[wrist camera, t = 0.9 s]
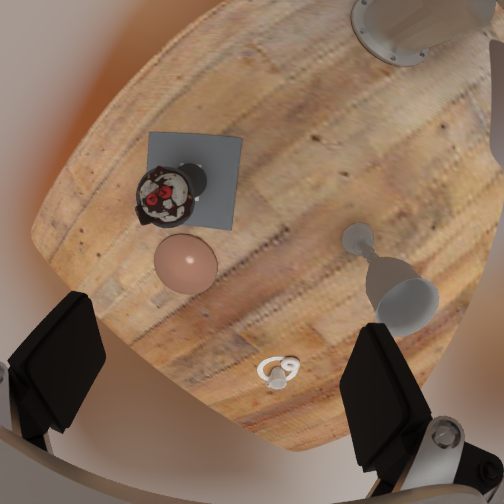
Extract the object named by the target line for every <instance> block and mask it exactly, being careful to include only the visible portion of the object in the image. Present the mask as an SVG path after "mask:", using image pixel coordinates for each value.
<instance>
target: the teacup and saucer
mask: <svg viewBox="0 0 504 504" xmlns="http://www.w3.org/2000/svg"><path fill="white" fill-rule="evenodd" d="M274 360H282V361H281V367H282V368H281V367H275V368H273V370H272V372H271V375H270V376H269V377H267V376H266V375H265V374H264V373H263V367H264V366H265V364H267V363H268V362H270V361H274ZM288 364H290V365H288ZM299 367H300V362H299V360H297V359H296V358H293V357H288V358H287V357H281V356H276V357H270V358H267V359H265V360H263V361H262V362H261V363H260V364H259V365H258V368H257V372H258V375H259V376H260V377H261V378H262V379H264V380H266V381H267V383H266V386H267V387H269V388H270V387H272V388H274V389H281V388H284V387H285V386H286V381H288V380H290V379H292V378H293V377H294V376H295V375H296V374H297V372H298V368H299ZM284 370H287V371H292V372H291V374H290V375H289V376H287V377H286V375H285V371H284ZM269 382H270V385H269V386H268V384H269Z"/></svg>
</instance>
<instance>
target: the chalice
mask: <svg viewBox="0 0 504 504" xmlns="http://www.w3.org/2000/svg"><path fill="white" fill-rule="evenodd" d="M342 245H343V247H344V249H345V250H346V251H347V252H349V253H351V254H354V255H363V257H364V258H367V261H368V263H370V264H369V268H368V272H367V275H366V294H367V296H368V298H369V300H370V302H371V304H372V306H373V308H374V310H375V311H376V313H375V322H376V323H385V325H386V326H387V328H388V330H389V331H390V333H391V335H392V337H403V336H407V335H411V334H413V333H415V332H417V331H419V330H420V329H421V328H423V327H424V326H425V325H426V324H428V322H429V321H430V320H431V319H432V317H433V316H434V314H435V312H436V310H437V308H438V304H439V293H438V289H437V288H436V286H435V285H434V284H433V283H432V282H430V281H428V280H427V279H422V278H421V277H420V275H419V274H418V273H417V272H416V271H415V270H414V269H413V268H412V267H411V266H410V264H408V263H406V262H405V261H403V260H399V259H396V258H391V257H379V256H378V255H377V254H376V253H374V249H373V248H372V246H373V232H372V230H371V228H370V227H369V226H368V225H366V224H364V223H354V224H352V225H350V226H349V227H348V228H347V229H346V230H345V231H344V233H343V236H342Z"/></svg>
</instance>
